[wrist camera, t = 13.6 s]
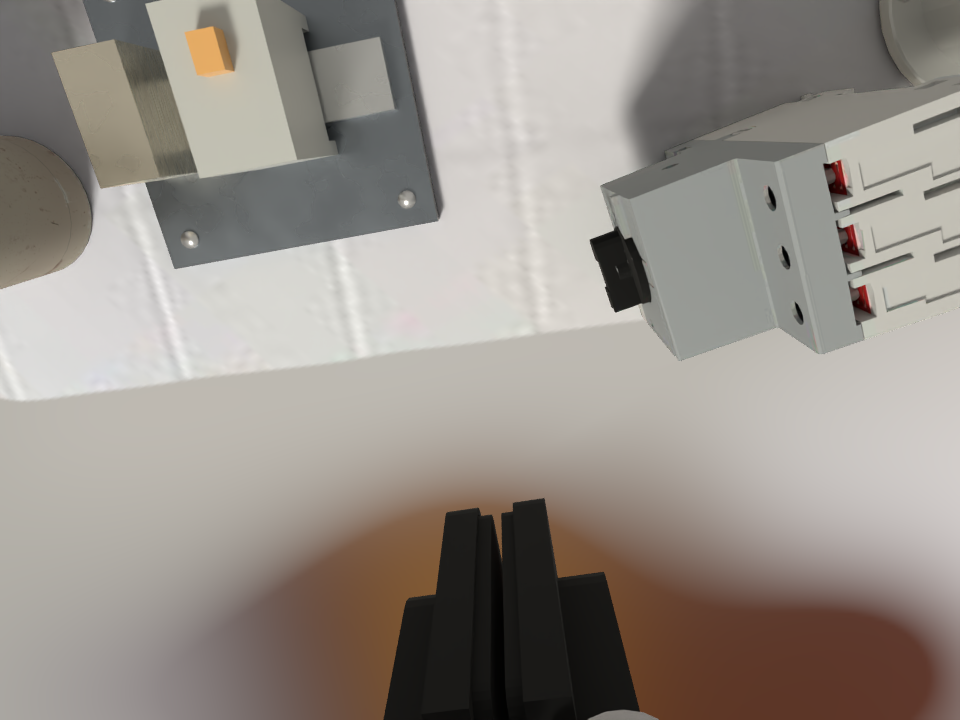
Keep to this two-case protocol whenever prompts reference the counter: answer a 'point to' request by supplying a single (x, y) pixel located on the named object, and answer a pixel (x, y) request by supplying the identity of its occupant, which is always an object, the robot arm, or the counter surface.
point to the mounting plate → (271, 191)
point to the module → (241, 83)
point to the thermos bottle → (38, 212)
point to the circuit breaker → (795, 223)
